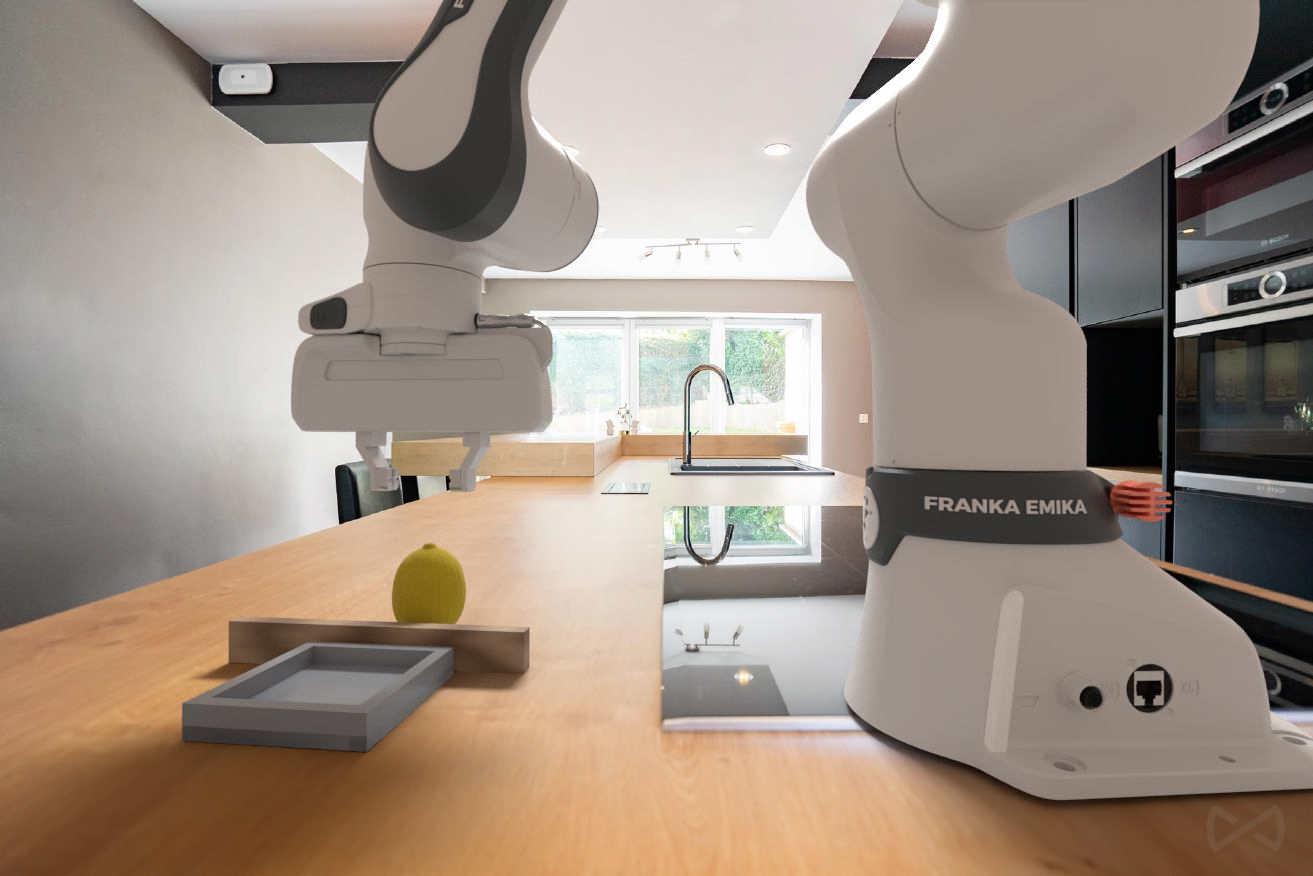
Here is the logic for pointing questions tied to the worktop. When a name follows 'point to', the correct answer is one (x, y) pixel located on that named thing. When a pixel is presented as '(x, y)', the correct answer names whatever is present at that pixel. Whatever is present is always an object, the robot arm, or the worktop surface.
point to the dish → (320, 696)
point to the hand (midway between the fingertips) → (423, 491)
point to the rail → (383, 640)
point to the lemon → (429, 587)
